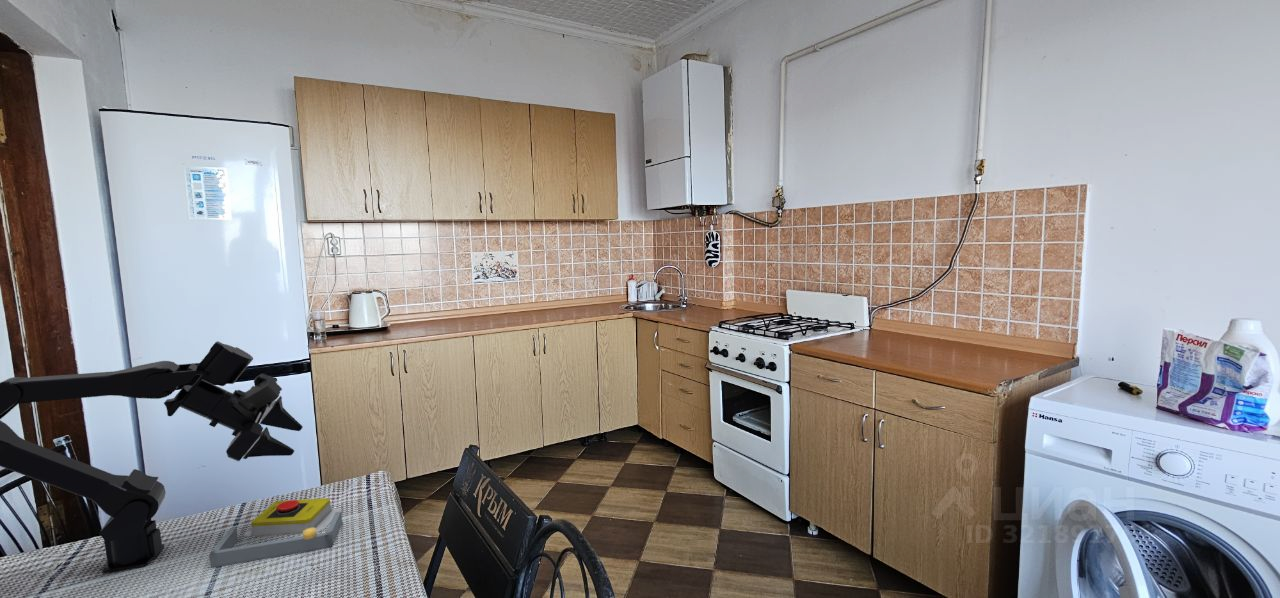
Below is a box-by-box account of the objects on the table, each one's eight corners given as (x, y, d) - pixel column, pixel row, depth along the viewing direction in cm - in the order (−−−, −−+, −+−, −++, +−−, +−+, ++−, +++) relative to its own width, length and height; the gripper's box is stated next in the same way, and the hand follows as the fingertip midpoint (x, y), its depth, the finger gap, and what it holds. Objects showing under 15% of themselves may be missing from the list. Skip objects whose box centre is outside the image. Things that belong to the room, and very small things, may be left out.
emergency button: (268, 495, 115) (342, 491, 116) (270, 515, 115) (344, 510, 116) (239, 518, 105) (319, 513, 106) (241, 539, 106) (322, 534, 107)
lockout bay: (209, 569, 96) (207, 549, 95) (231, 540, 105) (229, 522, 104) (331, 548, 101) (329, 529, 101) (342, 522, 110) (340, 505, 110)
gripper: (229, 394, 95) (315, 433, 102) (256, 352, 111) (328, 389, 119) (188, 443, 95) (277, 479, 102) (221, 394, 111) (296, 428, 119)
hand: (297, 440), depth 111 cm, fingers open, 9 cm apart
